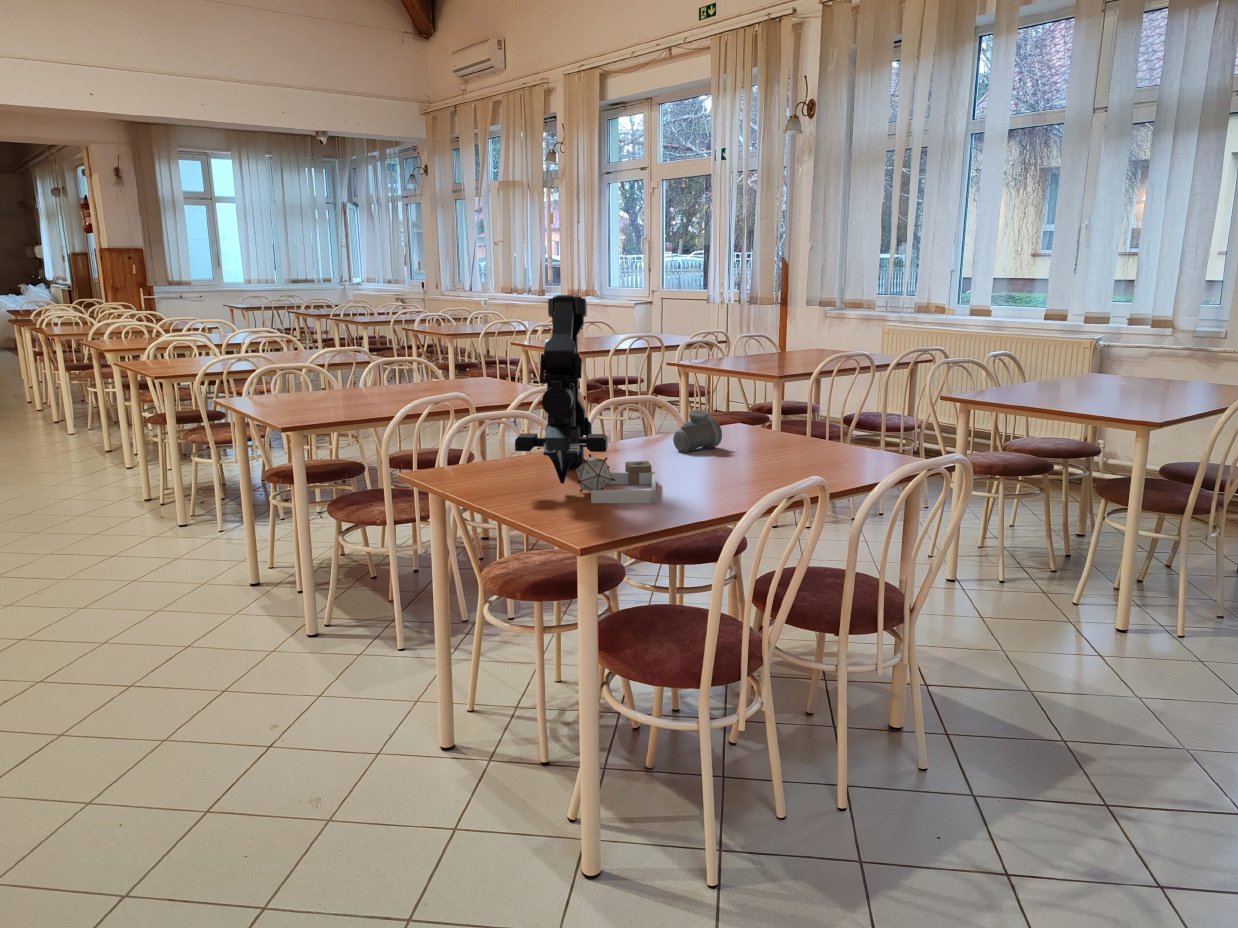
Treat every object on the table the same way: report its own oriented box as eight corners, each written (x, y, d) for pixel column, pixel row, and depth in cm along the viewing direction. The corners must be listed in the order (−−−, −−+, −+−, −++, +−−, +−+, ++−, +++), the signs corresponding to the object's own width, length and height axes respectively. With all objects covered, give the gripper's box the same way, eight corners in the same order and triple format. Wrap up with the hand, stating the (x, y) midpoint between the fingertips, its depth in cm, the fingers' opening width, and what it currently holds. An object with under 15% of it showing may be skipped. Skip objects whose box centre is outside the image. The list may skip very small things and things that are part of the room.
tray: (597, 483, 190) (596, 472, 189) (655, 483, 189) (655, 472, 189) (591, 503, 174) (591, 491, 173) (655, 503, 173) (655, 491, 173)
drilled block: (625, 479, 193) (625, 461, 192) (647, 478, 194) (647, 460, 193) (628, 484, 188) (628, 466, 187) (651, 483, 189) (651, 465, 188)
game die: (590, 512, 180) (568, 480, 174) (580, 489, 187) (559, 458, 181) (627, 491, 180) (607, 459, 174) (616, 469, 187) (596, 437, 181)
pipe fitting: (702, 442, 232) (701, 405, 228) (723, 449, 226) (723, 411, 222) (668, 453, 225) (666, 415, 221) (689, 460, 219) (688, 422, 215)
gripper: (509, 415, 171) (511, 492, 174) (603, 415, 170) (604, 493, 173) (518, 406, 182) (520, 479, 185) (607, 407, 181) (608, 480, 184)
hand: (562, 483), depth 181 cm, fingers closed
